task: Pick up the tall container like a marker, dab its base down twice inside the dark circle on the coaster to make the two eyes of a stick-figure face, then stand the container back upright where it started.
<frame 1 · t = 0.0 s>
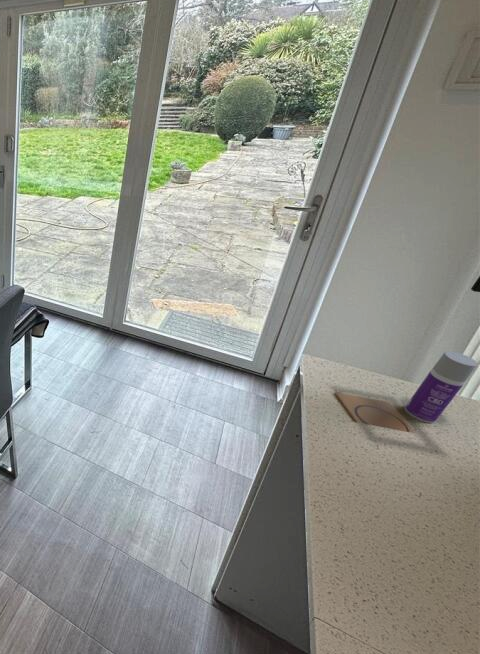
coaster: (380, 422, 84), on the countertop
container: (419, 415, 86), on the countertop
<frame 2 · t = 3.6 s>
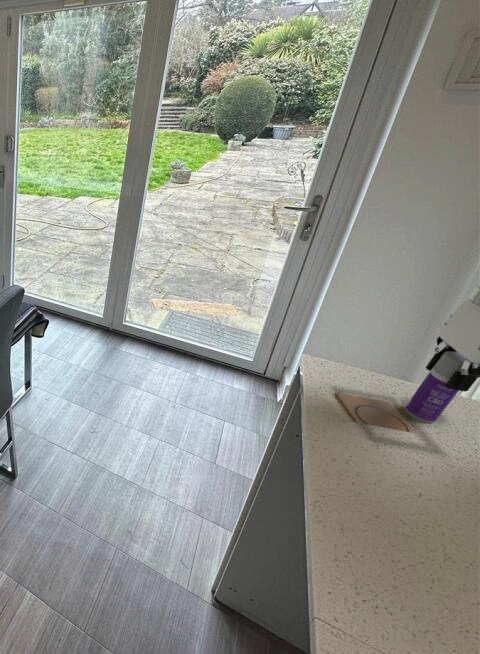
hand: (445, 378, 81), 10 cm above the countertop, tool pointing down, fingers closed on container, 4 cm apart
container: (419, 415, 86), on the countertop, touching gripper
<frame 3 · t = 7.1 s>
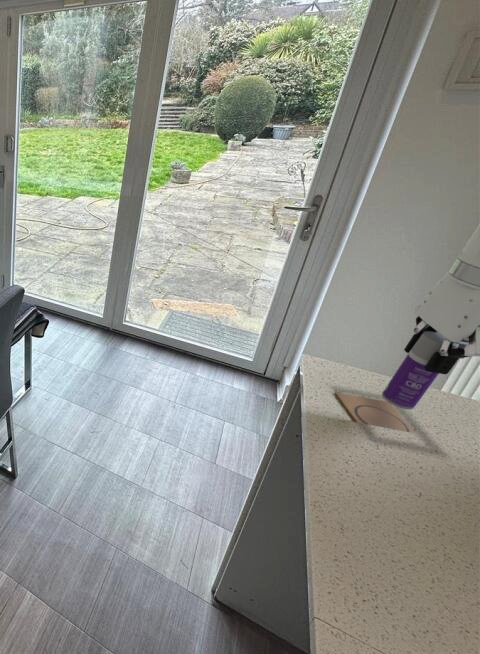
hand: (424, 361, 75), 17 cm above the countertop, tool pointing down, fingers closed on container, 4 cm apart
container: (397, 401, 80), point 7 cm above the countertop, touching gripper
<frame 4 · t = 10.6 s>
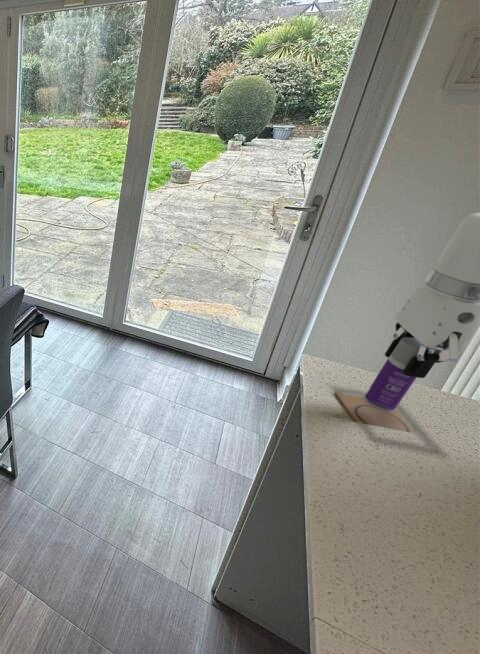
hand: (403, 365, 79), 13 cm above the countertop, tool pointing down, fingers closed on container, 4 cm apart
container: (378, 403, 83), point 4 cm above the countertop, touching gripper
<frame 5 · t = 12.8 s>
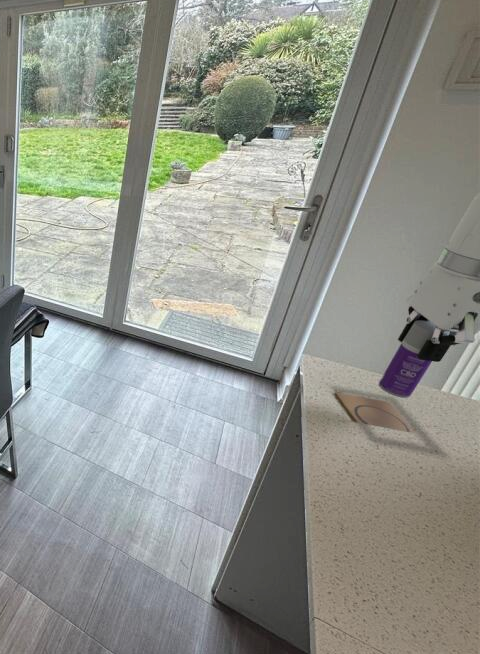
hand: (418, 349, 77), 17 cm above the countertop, tool pointing down, fingers closed on container, 4 cm apart
container: (393, 390, 81), point 7 cm above the countertop, touching gripper
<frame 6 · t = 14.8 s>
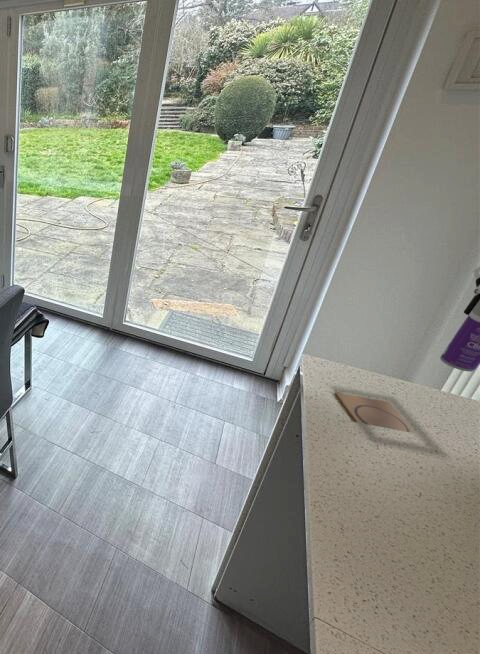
container: (456, 364, 80), point 14 cm above the countertop, touching gripper
when the fingers open (10 cm above the countertop, at t = 18.1 s): container stays where it is, on the countertop.
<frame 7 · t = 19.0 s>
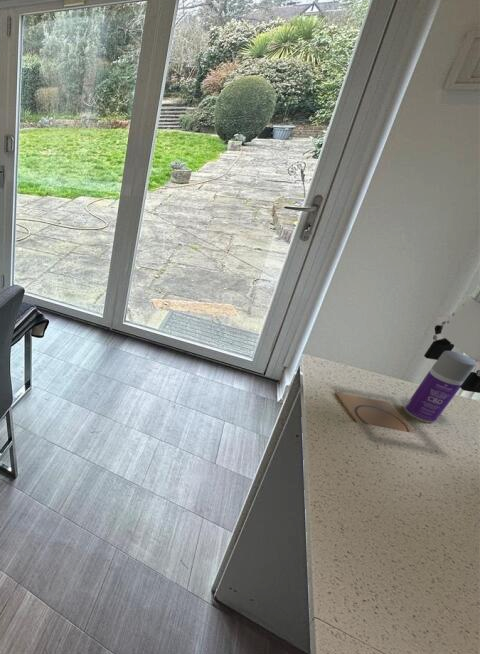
hand: (451, 373, 81), 11 cm above the countertop, tool pointing down, fingers open, 9 cm apart
container: (418, 415, 86), on the countertop
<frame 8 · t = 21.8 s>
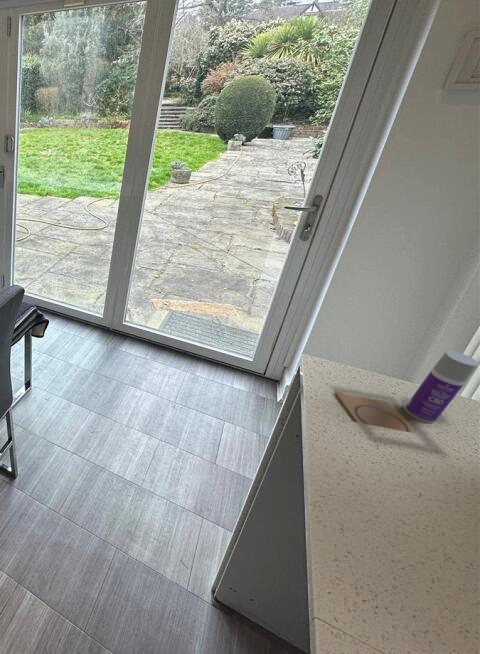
nothing on the countertop moved.
at the end: container tilted 1°; container 0.0 cm from the target spot, on the countertop; the gripper is holding nothing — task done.
